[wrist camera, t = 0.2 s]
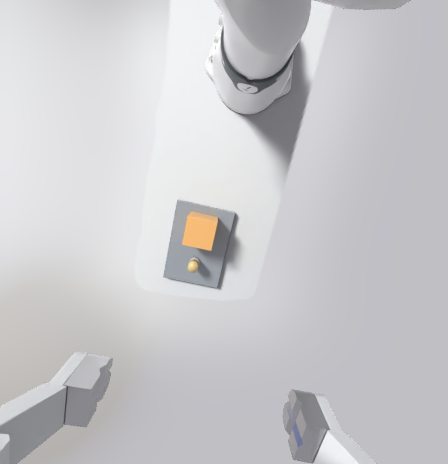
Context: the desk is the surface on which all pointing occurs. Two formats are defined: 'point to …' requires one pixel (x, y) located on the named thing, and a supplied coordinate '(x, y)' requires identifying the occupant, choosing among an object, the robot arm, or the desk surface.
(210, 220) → the amber rectangular brick
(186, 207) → the plate
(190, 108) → the desk surface
